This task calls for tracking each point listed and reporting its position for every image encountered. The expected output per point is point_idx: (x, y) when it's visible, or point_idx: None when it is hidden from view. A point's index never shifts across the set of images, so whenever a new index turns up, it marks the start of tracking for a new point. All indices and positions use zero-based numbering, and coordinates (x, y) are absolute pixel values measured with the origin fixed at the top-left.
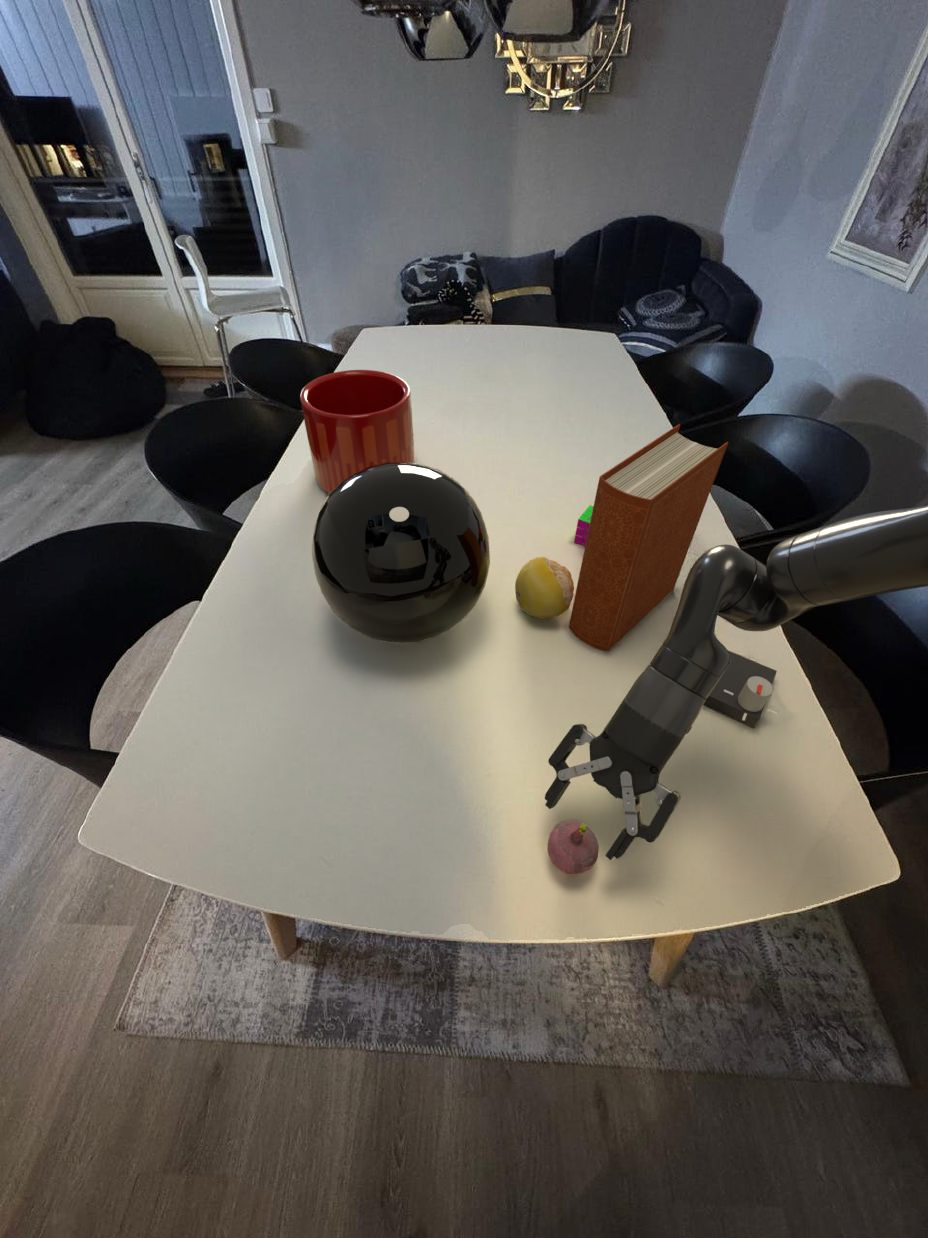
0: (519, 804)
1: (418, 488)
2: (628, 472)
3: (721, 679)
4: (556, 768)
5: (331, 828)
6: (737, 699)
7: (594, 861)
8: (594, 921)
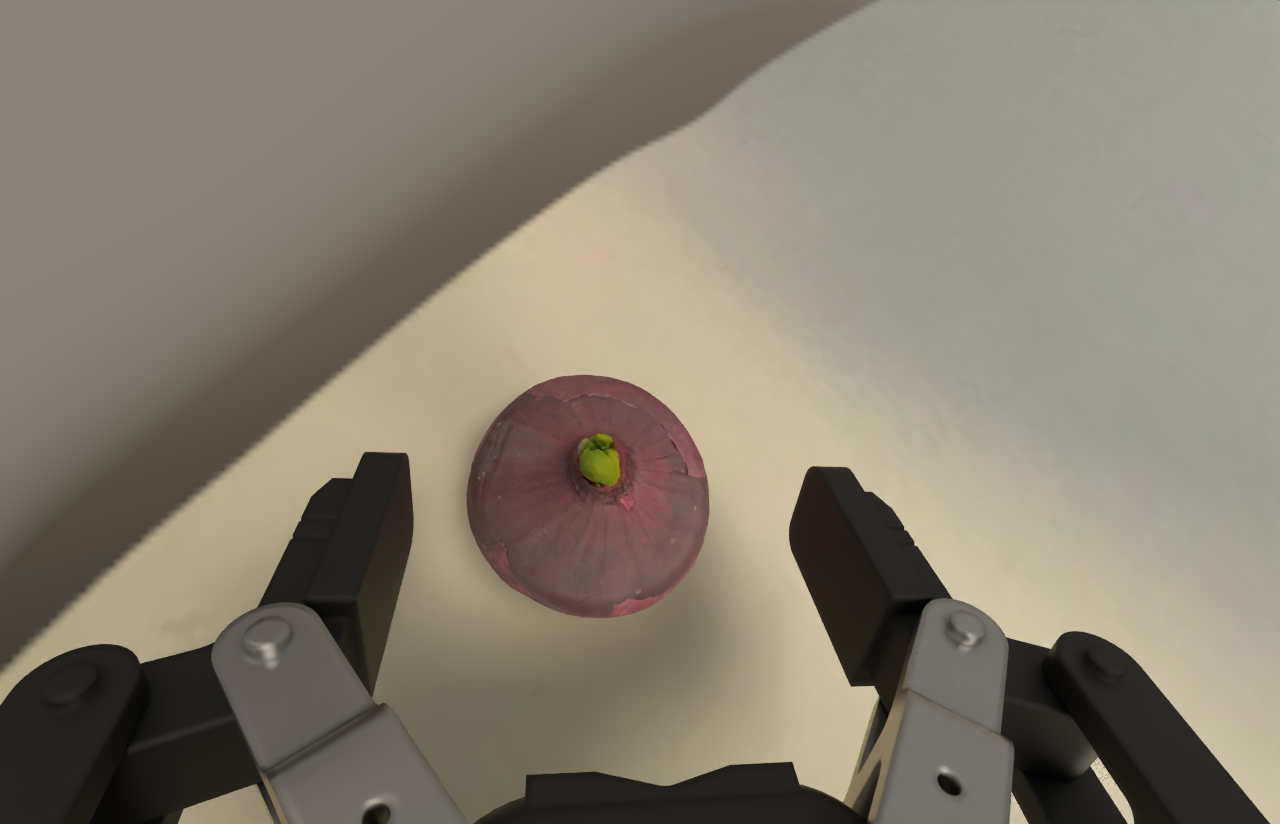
0: None
1: None
2: None
3: None
4: (1022, 653)
5: (1145, 101)
6: None
7: (470, 488)
8: (374, 384)
